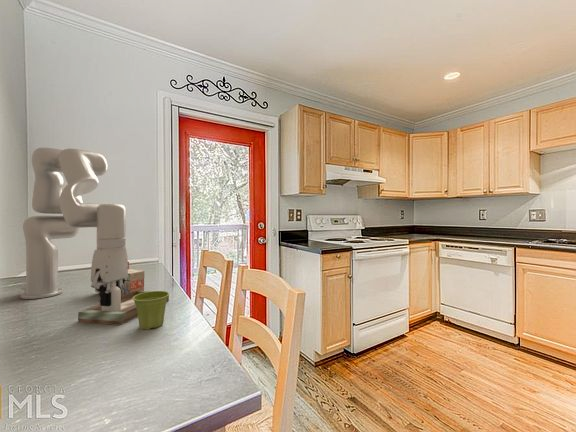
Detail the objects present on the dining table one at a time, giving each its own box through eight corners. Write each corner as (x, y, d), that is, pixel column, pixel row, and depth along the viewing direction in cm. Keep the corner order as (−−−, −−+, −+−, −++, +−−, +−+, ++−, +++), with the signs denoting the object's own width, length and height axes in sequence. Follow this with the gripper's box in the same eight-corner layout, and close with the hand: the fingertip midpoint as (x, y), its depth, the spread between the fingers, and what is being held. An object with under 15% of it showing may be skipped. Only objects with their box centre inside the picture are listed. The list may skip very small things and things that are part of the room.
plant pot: (155, 333, 74) (155, 300, 74) (124, 330, 76) (124, 298, 76) (175, 320, 83) (175, 291, 84) (148, 318, 85) (148, 290, 85)
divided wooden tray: (78, 322, 82) (78, 311, 82) (134, 298, 106) (134, 290, 106) (120, 324, 80) (120, 314, 80) (168, 300, 104) (168, 292, 104)
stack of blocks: (144, 294, 109) (144, 262, 109) (129, 298, 103) (129, 265, 103) (110, 288, 118) (110, 259, 118) (94, 292, 112) (94, 261, 112)
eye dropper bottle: (116, 309, 89) (116, 272, 90) (121, 314, 86) (122, 275, 86) (100, 313, 86) (100, 274, 86) (105, 317, 82) (105, 277, 82)
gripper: (120, 241, 95) (120, 295, 95) (76, 246, 78) (76, 312, 78) (140, 241, 94) (140, 296, 94) (100, 247, 77) (99, 313, 77)
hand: (111, 303), depth 86 cm, fingers closed on eye dropper bottle, 3 cm apart
